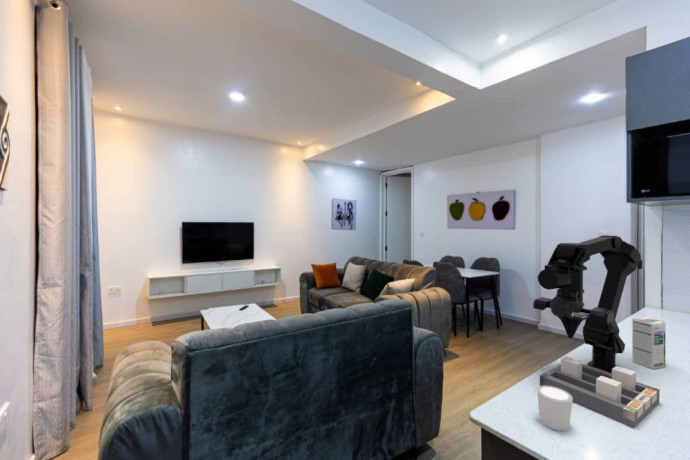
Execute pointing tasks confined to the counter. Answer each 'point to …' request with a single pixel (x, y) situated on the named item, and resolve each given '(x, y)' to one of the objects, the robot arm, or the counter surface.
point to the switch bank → (584, 394)
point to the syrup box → (648, 342)
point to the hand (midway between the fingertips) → (570, 337)
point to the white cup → (554, 407)
